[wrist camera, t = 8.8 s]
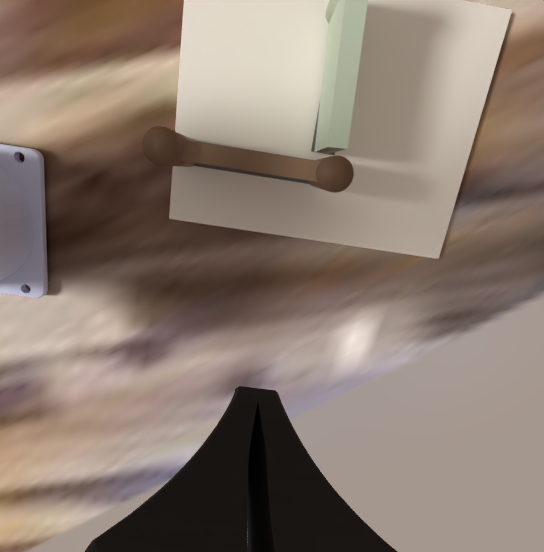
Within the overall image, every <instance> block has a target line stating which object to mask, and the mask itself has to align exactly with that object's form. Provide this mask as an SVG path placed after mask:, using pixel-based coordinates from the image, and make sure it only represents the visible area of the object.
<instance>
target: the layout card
mask: <svg viewBox="0 0 544 552" xmlns="http://www.w3.org/2000/svg"><path fill="white" fill-rule="evenodd" d="M329 1H330V0H184V9H183V24H182V38H181V53H180V67H179V82H178V96H177V111H176V126H175V132H177V133H180V134H182V135H184V136H187V137H189V138H191V139H193V140H195V141H196V142H202V143H208V144H214V145H220V146H226V147H233V148H239V149H245V150H251V151H257V152H264V153H270V154H276V155H282V156H288V157H294V158H301V159H307V160H313V161H314V160H317V159H321V158H326V157H330V156H335V155H339V156H343V157H345V158H347V159H348V160H349V161H350V163H351V164H352V166H353V170H354V176H353V180H352V182H351V184H350V185H349V186H348V188H346V189H345V190H343V191H341V192H337V193H333V192H329V191H326V190H323V189H320V188H317V187H314V186H312V185H310V184H309V182H308V181H307V180H302V179H296V178H289V177H283V176H277V175H270V174H264V173H258V172H251V171H245V170H239V169H232V168H226V167H220V166H213V165H207V164H201V163H197V164H196V165H194V166H192V167H181V166H173V169H172V184H171V198H170V213H169V219H174V220H180V221H187V222H194V223H200V224H207V225H214V226H221V227H227V228H234V229H241V230H248V231H254V232H261V233H268V234H274V235H281V236H288V237H295V238H301V239H308V240H315V241H321V242H328V243H335V244H342V245H348V246H355V247H362V248H369V249H375V250H382V251H389V252H395V253H402V254H409V255H416V256H422V257H429V258H436V259H439V256H440V253H441V249H442V246H443V242H444V239H445V236H446V232H447V229H448V225H449V222H450V219H451V215H452V212H453V209H454V205H455V202H456V198H457V195H458V192H459V188H460V185H461V181H462V178H463V175H464V171H465V168H466V164H467V161H468V158H469V154H470V151H471V148H472V144H473V141H474V137H475V134H476V131H477V127H478V124H479V120H480V117H481V114H482V110H483V107H484V104H485V100H486V97H487V93H488V90H489V87H490V83H491V80H492V76H493V73H494V70H495V66H496V63H497V60H498V56H499V53H500V49H501V46H502V43H503V39H504V36H505V32H506V29H507V26H508V22H509V19H510V15H511V12H512V10H510V9H505V8H500V7H494V6H489V5H484V4H479V3H474V2H468V1H463V0H368V5H367V12H366V19H365V26H364V34H363V41H362V48H361V55H360V62H359V70H358V77H357V84H356V91H355V98H354V106H353V113H352V120H351V127H350V134H349V142H348V149H345V150H341V151H338V152H334V153H330V154H329V153H318V152H314V150H315V141H316V133H317V124H318V115H319V106H320V97H321V89H322V80H323V71H324V62H325V53H326V45H327V36H328V27H329V24H328V22H327V20H326V9H327V6H328V3H329Z"/></svg>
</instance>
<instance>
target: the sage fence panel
mask: <svg viewBox="0 0 544 552" xmlns="http://www.w3.org/2000/svg"><path fill="white" fill-rule="evenodd" d="M367 5H368V0H330V1H329V3H328V6H327V9H326V20H327V22H328V24H329V27H328V36H327V45H326V53H325V62H324V71H323V80H322V89H321V97H320V106H319V115H318V124H317V133H316V141H315V150H314V152H318V153H329V154H330V153H334V152H338V151H341V150H345V149H348V142H349V134H350V127H351V120H352V113H353V106H354V98H355V91H356V84H357V77H358V70H359V62H360V55H361V48H362V41H363V34H364V26H365V19H366V12H367Z"/></svg>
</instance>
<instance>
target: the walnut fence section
mask: <svg viewBox="0 0 544 552" xmlns="http://www.w3.org/2000/svg"><path fill="white" fill-rule="evenodd" d="M142 147H143V151H144V154H145V155H146V157H147V158H148V159H149V160H150V161H151V162H152V163H154V164H157V165H162V166H181V167H192V166H194V165H196V164H197V163H201V164H207V165H213V166H220V167H226V168H232V169H239V170H245V171H251V172H258V173H264V174H270V175H277V176H283V177H289V178H296V179H302V180H307V181H308V182H309V184H310V185H312V186H314V187H317V188H320V189H323V190H326V191H329V192H333V193H337V192H341V191H343V190H345V189H346V188H348V186H349V185H350V184H351V182H352V180H353V176H354V170H353V166H352V164H351V163H350V161H349V160H348V159H347V158H345V157H343V156H339V155H335V156H330V157H326V158H321V159H317V160H314V161H313V160H307V159H301V158H294V157H288V156H282V155H276V154H270V153H264V152H257V151H251V150H245V149H239V148H233V147H226V146H220V145H214V144H208V143H202V142H196V141H195V140H193V139H191V138H189V137H187V136H184V135H182V134H180V133H177V132H175V131H173V130H170V129H168V128H165V127H161V126H157V127H153V128H151V129H150V130H148V131H147V132H146V134H145V135H144V138H143V142H142Z"/></svg>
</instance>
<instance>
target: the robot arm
mask: <svg viewBox="0 0 544 552" xmlns="http://www.w3.org/2000/svg"><path fill="white" fill-rule="evenodd" d="M20 153H22V154H23V155H24V157H25V159H24V161H23V162H22V161H21V160H20V158H19V155H20ZM26 285H28V286H29V287H30V289H31V290H30V291H29V290H27V289H26ZM47 291H48V276H47V243H46V211H45V178H44V159H43V156H42V154H41V153H40V152H39V151H38V150H35V149H31V148H25V147H19V146H12V145H6V144H0V293H1V294H9V295H16V296H24V297H31V298H40V297H42V296H44V295H46V293H47ZM247 529H248V547H247ZM85 552H397V551H396V550H395V549H393V548H392V547H391V546H390V545H389V544H387V543H386V542H385V541H384V540H383V539H382V538H381V537H380V536H378V535H377V534H376V533H375V532H374V531H373V530H372V529H371V528H370V527H369V526H368V525H367V524H366V523H365V522H364V521H363V520H362V519H361V518H360V517H359V516H358V515H357V514H356V513H355V512H354V511H353V510H352V509H351V508H350V506H348V505H347V503H346V502H345V501H344V500H343V499H342V498H341V497H340V496H339V494H338V493H337V492H336V491H335V490H334V488H333V487H332V486H331V485H330V483H329V482H328V481H327V480H326V478H325V477H324V476H323V474H322V473H321V472H320V470H319V469H318V467H317V466H316V464H315V463H314V462H313V460H312V459H311V457H310V456H309V454H308V453H307V451H306V449H305V448H304V446H303V444H302V443H301V441H300V439H299V437H298V435H297V434H296V432H295V430H294V428H293V426H292V424H291V422H290V420H289V418H288V416H287V414H286V412H285V410H284V407H283V405H282V403H281V400H280V398H279V395H278V393H277V392H276V391H274V390H266V389H258V388H250V387H242V386H239V387H238V388H236V389H235V393H234V396H233V398H232V400H231V402H230V404H229V406H228V408H227V410H226V412H225V413H224V415H223V416H222V418H221V420H220V421H219V423H218V424H217V426H216V427H215V429H214V430H213V431H212V433H211V434H210V435H209V437H208V438H207V440H206V441H205V442H204V444H203V445H202V446H201V447H200V448H199V450H198V451H197V452H196V453H195V454H194V456H193V457H192V458H191V459H190V460H189V461H188V462H187V463H186V465H185V466H184V467H183V468H182V469H181V470H180V471H179V472H178V473H177V474H176V475H175V476H174V477H173V478H172V479H171V480H170V481H169V482H168V483H166V484H165V485H164V486H163V487H162V488H161V489H160V490H159V491H158V492H156V493H155V494H154V495H153V496H152V497H150V498H149V499H148V500H147V501H146V502H145V503H143V504H142V505H141V506H140V507H138V508H137V509H136V510H135V511H133V512H132V513H131V514H130V515H128V516H127V517H125V518H124V519H123V520H121V521H120V522H118V523H117V524H116V525H114V526H113V527H111V528H110V529H108V530H107V531H106V532H104V533H103V534H101V535H100V536H99V537H97V538H96V539H94V540H93V541H92V542H91V544H90V545H89V546H88V548H87V549H86V550H85Z"/></svg>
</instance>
